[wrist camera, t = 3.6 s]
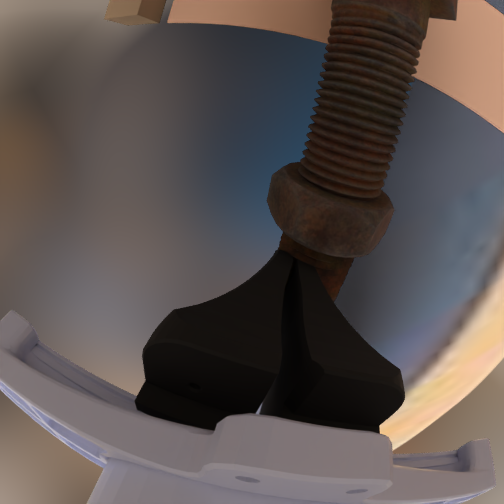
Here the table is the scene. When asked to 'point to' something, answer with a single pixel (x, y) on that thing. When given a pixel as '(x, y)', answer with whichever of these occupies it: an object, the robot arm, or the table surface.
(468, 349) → the table surface
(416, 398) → the table surface
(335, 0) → the bolt
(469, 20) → the strip
